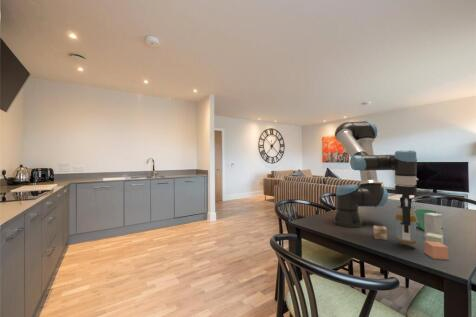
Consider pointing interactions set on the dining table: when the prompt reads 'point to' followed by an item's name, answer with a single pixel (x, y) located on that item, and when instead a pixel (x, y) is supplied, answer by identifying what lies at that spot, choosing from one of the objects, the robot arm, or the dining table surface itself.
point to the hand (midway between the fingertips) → (405, 236)
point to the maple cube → (380, 232)
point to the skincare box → (433, 223)
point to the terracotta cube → (436, 250)
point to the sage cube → (434, 237)
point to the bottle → (412, 226)
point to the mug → (422, 216)
